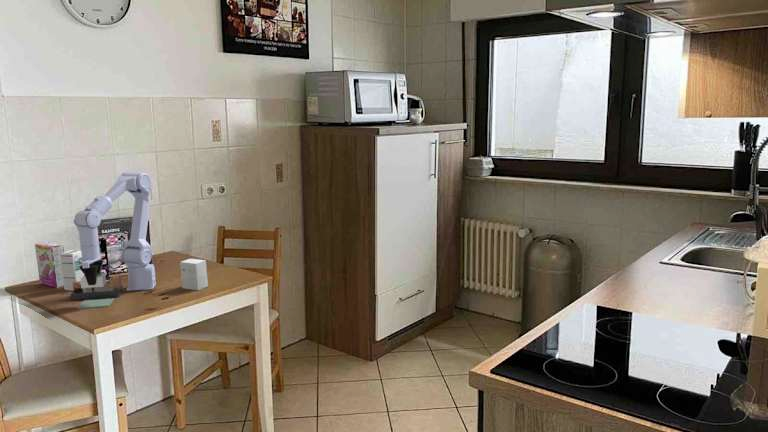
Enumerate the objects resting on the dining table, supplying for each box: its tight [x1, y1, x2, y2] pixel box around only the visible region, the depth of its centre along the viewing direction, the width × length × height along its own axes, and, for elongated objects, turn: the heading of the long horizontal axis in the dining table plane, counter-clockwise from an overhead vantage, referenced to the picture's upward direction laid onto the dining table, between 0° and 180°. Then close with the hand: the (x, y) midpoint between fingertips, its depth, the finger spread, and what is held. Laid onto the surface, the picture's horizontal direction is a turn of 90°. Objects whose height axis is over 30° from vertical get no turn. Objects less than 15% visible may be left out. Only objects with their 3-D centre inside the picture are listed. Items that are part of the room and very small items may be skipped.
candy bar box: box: [34, 241, 65, 289], centre depth 227 cm, size 11×5×16 cm, turn 61°
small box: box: [179, 258, 209, 291], centre depth 221 cm, size 8×6×10 cm
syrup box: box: [60, 249, 84, 292], centre depth 222 cm, size 6×6×14 cm
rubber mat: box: [76, 297, 115, 310], centre depth 205 cm, size 10×8×1 cm
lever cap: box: [80, 272, 107, 288], centre depth 203 cm, size 7×4×4 cm, turn 101°
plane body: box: [70, 273, 124, 301], centre depth 213 cm, size 16×7×7 cm, turn 101°
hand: (93, 283), depth 203 cm, fingers closed on lever cap, 4 cm apart
